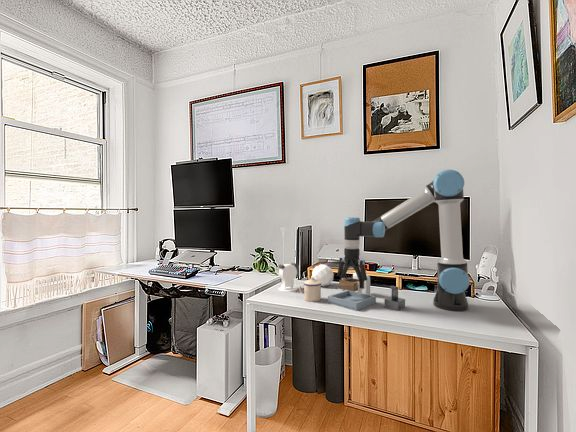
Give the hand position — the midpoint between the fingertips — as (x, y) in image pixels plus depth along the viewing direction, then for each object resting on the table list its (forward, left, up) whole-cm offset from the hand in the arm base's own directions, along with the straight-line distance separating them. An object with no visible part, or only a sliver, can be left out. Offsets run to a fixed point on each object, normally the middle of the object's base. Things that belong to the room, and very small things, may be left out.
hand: (351, 292), depth 159 cm
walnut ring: (0, 0, +2) cm, 2 cm away
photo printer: (+5, -17, -6) cm, 19 cm away
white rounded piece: (+42, +4, -6) cm, 43 cm away
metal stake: (-19, -9, -5) cm, 21 cm away
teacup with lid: (+19, +10, -6) cm, 22 cm away
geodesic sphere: (+33, -17, -6) cm, 38 cm away
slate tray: (0, 0, -5) cm, 5 cm away
